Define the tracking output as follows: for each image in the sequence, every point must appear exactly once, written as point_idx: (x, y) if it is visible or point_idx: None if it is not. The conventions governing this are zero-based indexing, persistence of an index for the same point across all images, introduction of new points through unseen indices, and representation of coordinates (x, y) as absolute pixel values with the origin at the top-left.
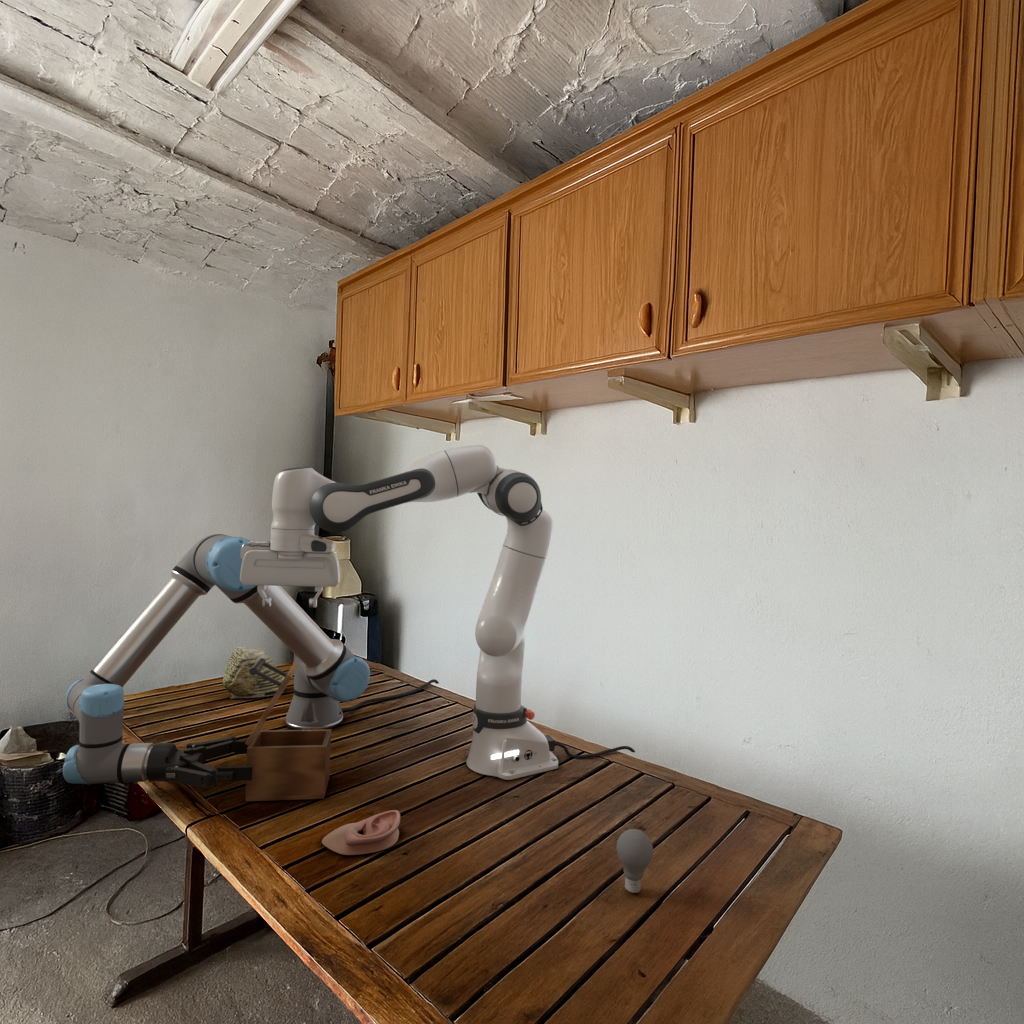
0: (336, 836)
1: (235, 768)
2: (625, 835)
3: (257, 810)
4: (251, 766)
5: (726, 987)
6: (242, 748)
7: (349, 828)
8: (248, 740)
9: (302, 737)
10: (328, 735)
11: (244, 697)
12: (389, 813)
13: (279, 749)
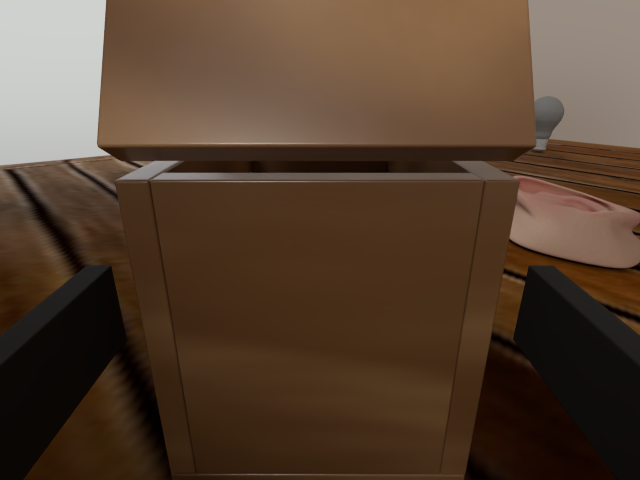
0: (616, 238)
1: (620, 329)
2: (553, 100)
3: (529, 421)
4: (544, 267)
5: (629, 147)
6: (10, 430)
7: (601, 213)
8: (529, 111)
9: (232, 163)
10: None
11: None
12: None
13: None
